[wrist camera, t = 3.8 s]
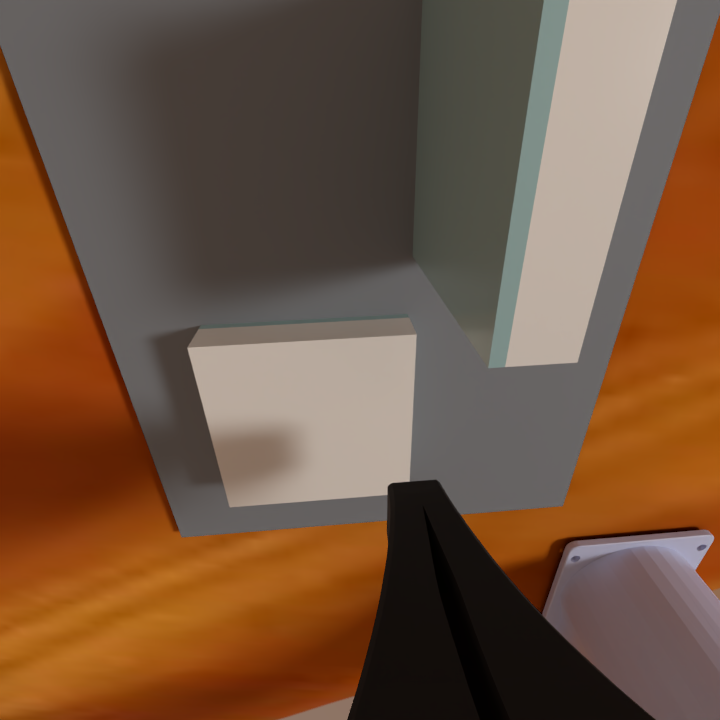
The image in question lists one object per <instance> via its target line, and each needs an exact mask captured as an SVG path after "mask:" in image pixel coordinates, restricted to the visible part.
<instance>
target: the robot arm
mask: <svg viewBox="0 0 720 720" xmlns="http://www.w3.org/2000/svg"><path fill="white" fill-rule="evenodd" d="M387 536H388V552H387V560H386V566H385V572H384V578H383V584H382V590H381V595H380V600H379V605H378V610H377V614H376V619H375V623H374V627H373V632H372V636H371V640H370V644H369V647H368V651H367V655H366V659H365V663H364V666H363V670H362V673H361V677H360V680H359V684H358V687H357V691H356V694H355V697H354V700H353V703H352V706H351V710H350V713H349V716H348V719H347V720H720V601H719V599H718V598H717V597H716V595H715V594H714V593H713V592H712V591H711V589H710V588H709V587H708V586H707V585H706V583H705V582H704V581H703V580H702V579H701V577H700V576H699V575H698V574H697V573H696V571H695V570H696V568H697V566H698V565H699V563H700V562H701V560H702V558H703V557H704V555H705V553H706V552H707V550H708V549H709V547H710V545H711V544H712V542H713V540H714V536H713V535H712V534H711V533H710V532H709V531H708V530H693V531H682V532H670V533H659V534H647V535H636V536H624V537H613V538H601V539H590V540H579V541H572V542H570V543H568V544H567V545H566V547H565V549H564V552H563V555H562V558H561V561H560V564H559V567H558V570H557V572H556V575H555V578H554V581H553V584H552V587H551V590H550V593H549V595H548V598H547V601H546V604H545V607H544V610H543V613H542V614H541V613H540V612H539V611H538V610H537V609H536V608H535V607H534V606H533V605H532V604H531V603H530V601H529V600H528V599H527V598H526V597H525V596H524V595H523V594H522V593H521V591H520V590H519V589H518V588H517V587H516V586H515V585H514V583H513V582H512V581H511V580H510V579H509V577H508V576H507V575H506V574H505V573H504V572H503V570H502V569H501V568H500V567H499V566H498V564H497V563H496V562H495V561H494V559H493V558H492V557H491V556H490V554H489V553H488V552H487V550H486V549H485V548H484V546H483V545H482V544H481V542H480V541H479V540H478V539H477V537H476V536H475V535H474V533H473V532H472V531H471V529H470V528H469V526H468V525H467V524H466V522H465V521H464V519H463V518H462V516H461V515H460V513H459V512H458V511H457V509H456V508H455V506H454V505H453V503H452V502H451V500H450V498H449V497H448V495H447V494H446V492H445V490H444V489H443V487H442V485H441V484H440V482H439V481H437V480H423V481H410V482H397V483H391V484H390V485H389V486H388V490H387Z"/></svg>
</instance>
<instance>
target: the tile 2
mask: <svg viewBox="0 0 720 720" xmlns="http://www.w3.org/2000/svg"><path fill="white" fill-rule="evenodd" d="M676 3H677V0H422V23H421V49H420V75H419V101H418V127H417V153H416V179H415V205H414V231H413V258H414V259H415V261H416V262H417V264H418V265H419V267H420V268H421V270H422V271H423V273H424V274H425V276H426V277H427V278H428V280H429V281H430V283H431V284H432V286H433V287H434V289H435V290H436V292H437V293H438V295H439V296H440V298H441V299H442V301H443V302H444V304H445V305H446V307H447V308H448V310H449V311H450V312H451V314H452V315H453V317H454V318H455V320H456V321H457V323H458V324H459V326H460V327H461V329H462V330H463V332H464V333H465V335H466V336H467V338H468V339H469V341H470V342H471V344H472V345H473V346H474V348H475V349H476V351H477V352H478V354H479V355H480V357H481V358H482V360H483V361H484V363H485V364H486V366H487V367H488V368H499V367H515V366H531V365H547V364H563V363H577V362H578V359H579V355H580V351H581V348H582V344H583V340H584V337H585V333H586V330H587V326H588V322H589V319H590V315H591V311H592V308H593V304H594V300H595V297H596V293H597V290H598V286H599V282H600V279H601V275H602V271H603V268H604V264H605V261H606V257H607V253H608V250H609V246H610V242H611V239H612V235H613V231H614V228H615V224H616V221H617V217H618V213H619V210H620V206H621V202H622V199H623V195H624V192H625V188H626V184H627V181H628V177H629V173H630V170H631V166H632V162H633V159H634V155H635V152H636V148H637V144H638V141H639V137H640V133H641V130H642V126H643V122H644V119H645V115H646V112H647V108H648V104H649V101H650V97H651V93H652V90H653V86H654V83H655V79H656V75H657V72H658V68H659V64H660V61H661V57H662V53H663V50H664V46H665V43H666V39H667V35H668V32H669V28H670V24H671V21H672V17H673V13H674V10H675V6H676Z"/></svg>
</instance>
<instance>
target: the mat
mask: <svg viewBox="0 0 720 720" xmlns="http://www.w3.org/2000/svg"><path fill="white" fill-rule="evenodd" d="M719 14H720V0H677V3H676V6H675V10H674V13H673V17H672V21H671V24H670V28H669V32H668V35H667V39H666V43H665V46H664V50H663V53H662V57H661V61H660V64H659V68H658V72H657V75H656V79H655V83H654V86H653V90H652V93H651V97H650V101H649V104H648V108H647V112H646V115H645V119H644V122H643V126H642V130H641V133H640V137H639V141H638V144H637V148H636V152H635V155H634V159H633V162H632V166H631V170H630V173H629V177H628V181H627V184H626V188H625V192H624V195H623V199H622V202H621V206H620V210H619V213H618V217H617V221H616V224H615V228H614V231H613V235H612V239H611V242H610V246H609V250H608V253H607V257H606V261H605V264H604V268H603V271H602V275H601V279H600V282H599V286H598V290H597V293H596V297H595V300H594V304H593V308H592V311H591V315H590V319H589V322H588V326H587V330H586V333H585V337H584V340H583V344H582V348H581V351H580V355H579V359H578V362H577V363H563V364H547V365H531V366H515V367H499V368H488V367H487V366H486V364H485V363H484V361H483V360H482V358H481V357H480V355H479V354H478V352H477V351H476V349H475V348H474V346H473V345H472V344H471V342H470V341H469V339H468V338H467V336H466V335H465V333H464V332H463V330H462V329H461V327H460V326H459V324H458V323H457V321H456V320H455V318H454V317H453V315H452V314H451V312H450V311H449V310H448V308H447V307H446V305H445V304H444V302H443V301H442V299H441V298H440V296H439V295H438V293H437V292H436V290H435V289H434V287H433V286H432V284H431V283H430V281H429V280H428V278H427V277H426V276H425V274H424V273H423V271H422V270H421V268H420V267H419V265H418V264H417V262H416V261H415V259H414V258H413V231H414V205H415V179H416V153H417V127H418V101H419V75H420V49H421V23H422V0H0V46H1V49H2V52H3V54H4V57H5V60H6V62H7V65H8V68H9V70H10V73H11V76H12V79H13V81H14V84H15V87H16V89H17V92H18V95H19V98H20V100H21V103H22V106H23V108H24V111H25V114H26V117H27V119H28V122H29V125H30V127H31V130H32V133H33V136H34V138H35V141H36V144H37V146H38V149H39V152H40V155H41V157H42V160H43V163H44V165H45V168H46V171H47V173H48V176H49V179H50V182H51V184H52V187H53V190H54V192H55V195H56V198H57V201H58V203H59V206H60V209H61V211H62V214H63V217H64V220H65V222H66V225H67V228H68V230H69V233H70V236H71V239H72V241H73V244H74V247H75V249H76V252H77V255H78V257H79V260H80V263H81V266H82V268H83V271H84V274H85V276H86V279H87V282H88V285H89V287H90V290H91V293H92V295H93V298H94V301H95V304H96V306H97V309H98V312H99V314H100V317H101V320H102V323H103V325H104V328H105V331H106V333H107V336H108V339H109V341H110V344H111V347H112V350H113V352H114V355H115V358H116V360H117V363H118V366H119V369H120V371H121V374H122V377H123V379H124V382H125V385H126V388H127V390H128V393H129V396H130V398H131V401H132V404H133V407H134V409H135V412H136V415H137V417H138V420H139V423H140V425H141V428H142V431H143V434H144V436H145V439H146V442H147V444H148V447H149V450H150V453H151V455H152V458H153V461H154V463H155V466H156V469H157V472H158V474H159V477H160V480H161V482H162V485H163V488H164V491H165V493H166V496H167V499H168V501H169V504H170V507H171V510H172V512H173V515H174V518H175V520H176V523H177V526H178V528H179V531H180V534H181V537H192V536H204V535H216V534H228V533H240V532H253V531H265V530H277V529H289V528H301V527H313V526H325V525H338V524H350V523H362V522H374V521H386V520H387V495H381V496H368V497H355V498H343V499H330V500H317V501H305V502H292V503H279V504H267V505H254V506H241V507H229V503H228V499H227V496H226V492H225V488H224V484H223V480H222V477H221V473H220V469H219V465H218V462H217V458H216V454H215V450H214V447H213V443H212V439H211V435H210V431H209V428H208V424H207V420H206V416H205V413H204V409H203V405H202V401H201V398H200V394H199V390H198V386H197V383H196V379H195V375H194V371H193V367H192V364H191V360H190V356H189V352H188V349H187V347H188V346H189V344H190V342H191V341H192V339H193V337H194V336H195V334H196V333H197V331H198V329H199V328H200V326H201V325H216V324H235V323H253V322H271V321H289V320H308V319H326V318H344V317H362V316H381V315H399V314H408V316H409V318H410V321H411V323H412V325H413V327H414V330H415V332H416V334H417V338H416V359H415V380H414V400H413V421H412V442H411V462H410V481H423V480H437V481H439V482H440V484H441V485H442V487H443V489H444V490H445V492H446V494H447V495H448V497H449V498H450V500H451V502H452V503H453V505H454V506H455V508H456V509H457V511H458V512H459V513H460V514H471V513H484V512H496V511H508V510H520V509H532V508H544V507H557V506H563V503H564V500H565V497H566V494H567V491H568V488H569V485H570V481H571V478H572V475H573V472H574V469H575V466H576V463H577V460H578V456H579V453H580V450H581V447H582V444H583V441H584V438H585V434H586V431H587V428H588V425H589V422H590V419H591V416H592V412H593V409H594V406H595V403H596V400H597V397H598V394H599V390H600V387H601V384H602V381H603V378H604V375H605V372H606V369H607V365H608V362H609V359H610V356H611V353H612V350H613V347H614V343H615V340H616V337H617V334H618V331H619V328H620V325H621V321H622V318H623V315H624V312H625V309H626V306H627V303H628V299H629V296H630V293H631V290H632V287H633V284H634V281H635V278H636V274H637V271H638V268H639V265H640V262H641V259H642V256H643V252H644V249H645V246H646V243H647V240H648V237H649V234H650V230H651V227H652V224H653V221H654V218H655V215H656V212H657V208H658V205H659V202H660V199H661V196H662V193H663V190H664V186H665V183H666V180H667V177H668V174H669V171H670V168H671V165H672V161H673V158H674V155H675V152H676V149H677V146H678V143H679V139H680V136H681V133H682V130H683V127H684V124H685V121H686V117H687V114H688V111H689V108H690V105H691V102H692V99H693V95H694V92H695V89H696V86H697V83H698V80H699V77H700V74H701V70H702V67H703V64H704V61H705V58H706V55H707V52H708V48H709V45H710V42H711V39H712V36H713V33H714V30H715V26H716V23H717V20H718V17H719Z"/></svg>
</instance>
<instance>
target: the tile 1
mask: <svg viewBox="0 0 720 720" xmlns="http://www.w3.org/2000/svg"><path fill="white" fill-rule="evenodd" d="M416 338H417V334H416V332H415V330H414V327H413V325H412V323H411V321H410V318H409V316H408V314H399V315H381V316H362V317H344V318H326V319H308V320H289V321H271V322H253V323H235V324H216V325H201V326H200V328H199V329H198V331H197V333H196V334H195V336H194V337H193V339H192V341H191V342H190V344H189V346H188V347H187V349H188V352H189V356H190V360H191V364H192V367H193V371H194V375H195V379H196V383H197V386H198V390H199V394H200V398H201V401H202V405H203V409H204V413H205V416H206V420H207V424H208V428H209V431H210V435H211V439H212V443H213V447H214V450H215V454H216V458H217V462H218V465H219V469H220V473H221V477H222V480H223V484H224V488H225V492H226V496H227V499H228V503H229V507H241V506H254V505H267V504H279V503H292V502H305V501H317V500H330V499H343V498H355V497H368V496H381V495H387V490H388V486H389V485H390V484H391V483H397V482H410V462H411V442H412V421H413V400H414V380H415V359H416Z"/></svg>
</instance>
